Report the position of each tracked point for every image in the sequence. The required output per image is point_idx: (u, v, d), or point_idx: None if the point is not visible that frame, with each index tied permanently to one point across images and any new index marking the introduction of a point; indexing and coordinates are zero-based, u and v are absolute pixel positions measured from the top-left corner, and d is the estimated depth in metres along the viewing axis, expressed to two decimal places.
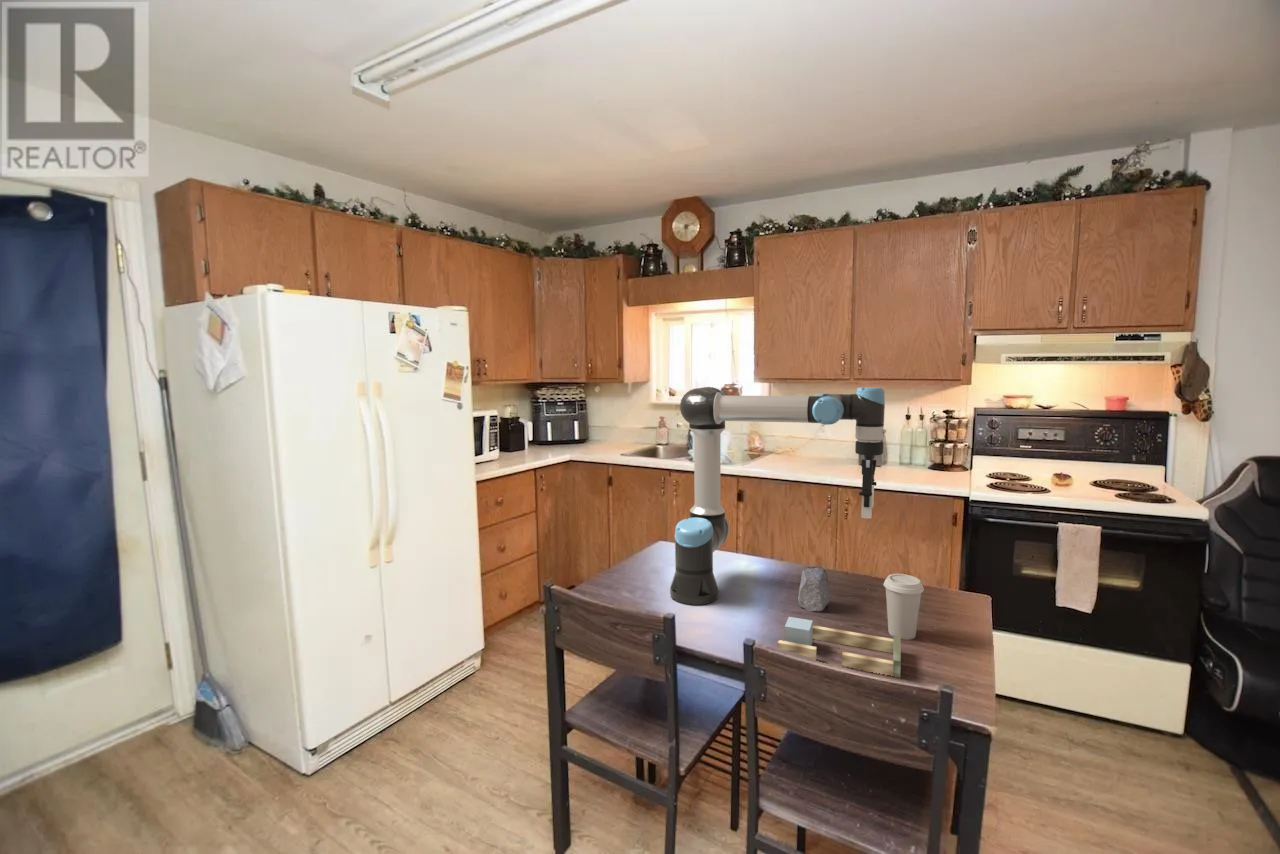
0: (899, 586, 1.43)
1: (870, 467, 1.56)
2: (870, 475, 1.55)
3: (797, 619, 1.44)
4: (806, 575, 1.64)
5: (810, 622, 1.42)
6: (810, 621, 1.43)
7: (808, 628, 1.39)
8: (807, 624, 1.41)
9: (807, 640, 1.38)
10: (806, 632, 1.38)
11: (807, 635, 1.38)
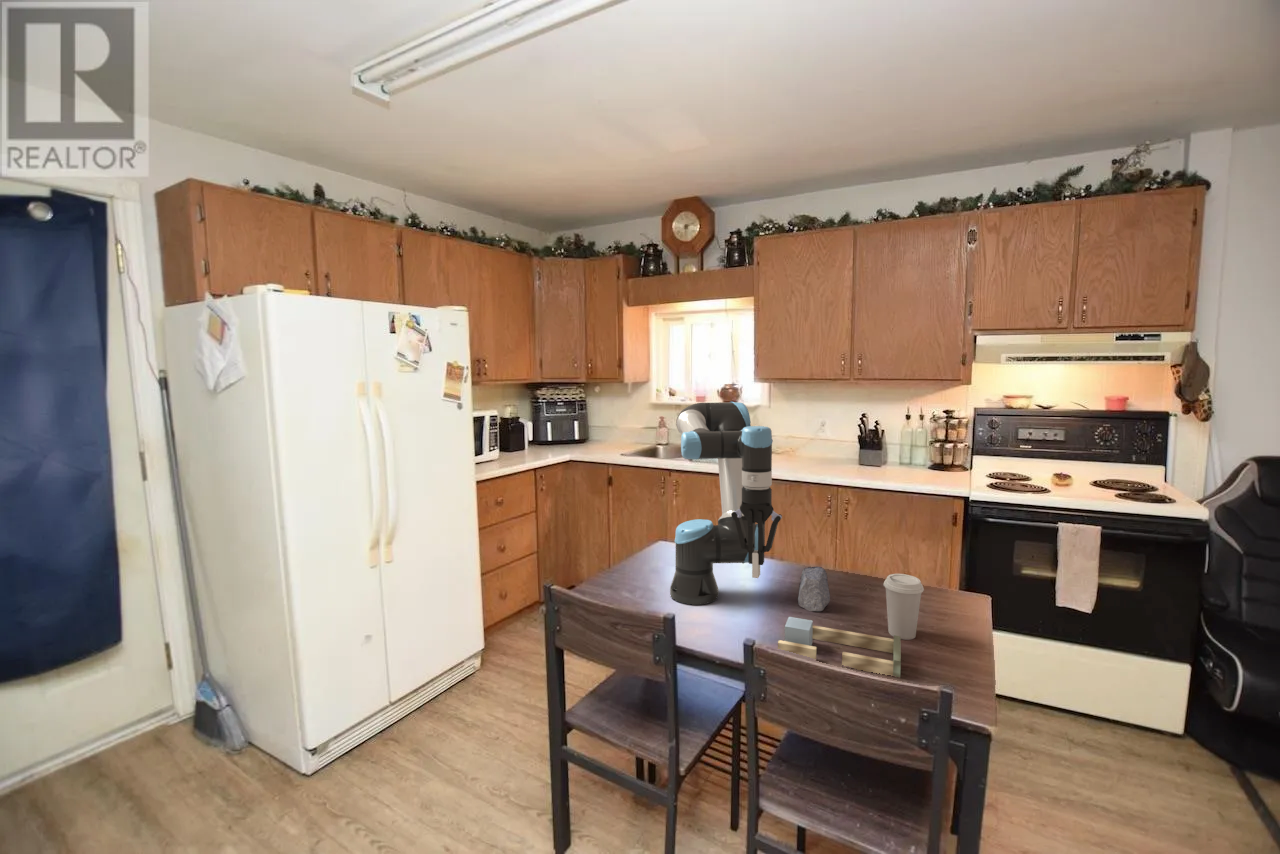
0: (899, 586, 1.43)
1: None
2: None
3: (797, 619, 1.44)
4: (806, 575, 1.64)
5: (810, 622, 1.42)
6: (810, 621, 1.43)
7: (808, 628, 1.39)
8: (807, 624, 1.41)
9: (807, 640, 1.38)
10: (806, 632, 1.38)
11: (807, 635, 1.38)
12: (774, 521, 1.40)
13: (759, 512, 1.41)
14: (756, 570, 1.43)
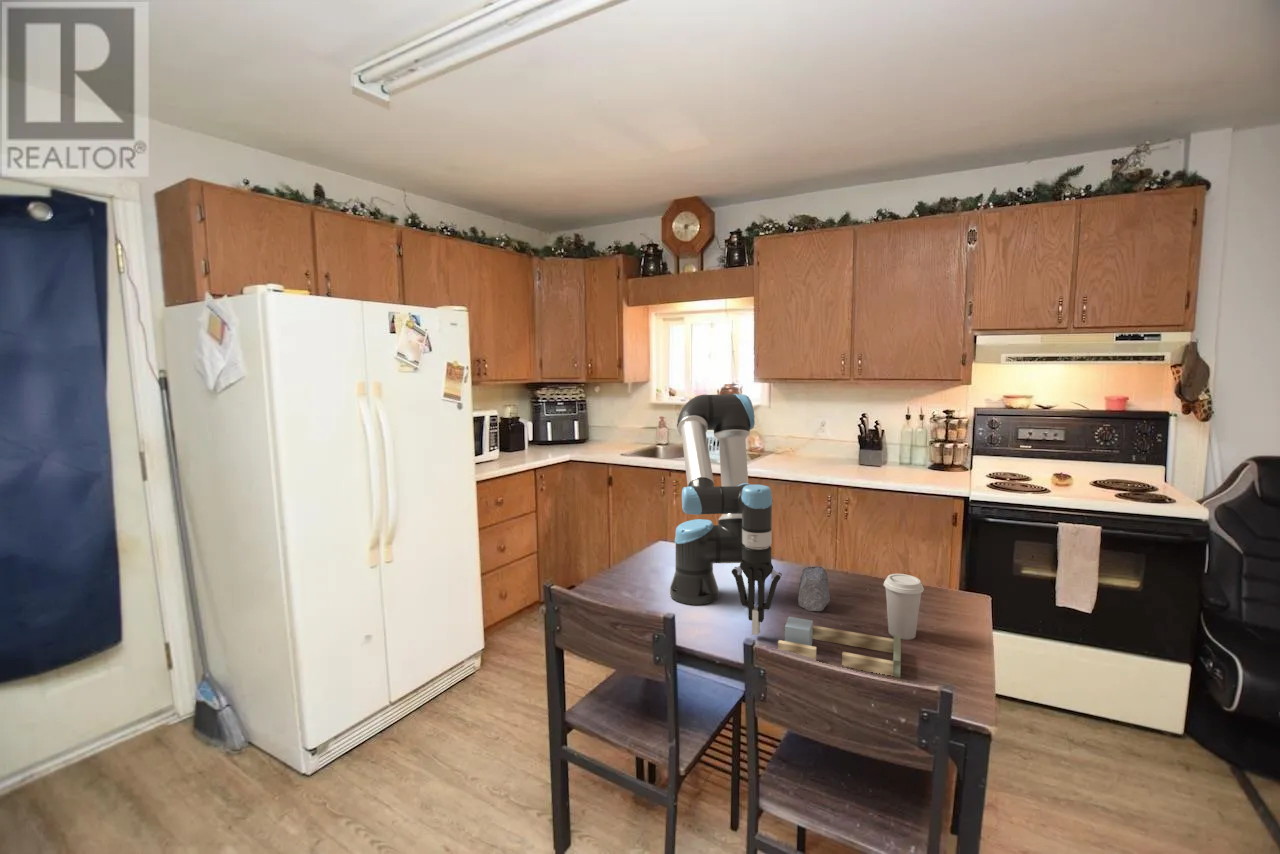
0: (899, 586, 1.43)
1: None
2: None
3: (797, 619, 1.44)
4: (806, 575, 1.64)
5: (810, 622, 1.42)
6: (810, 621, 1.43)
7: (808, 628, 1.39)
8: (807, 624, 1.41)
9: (807, 640, 1.38)
10: (806, 632, 1.38)
11: (807, 635, 1.38)
12: (774, 580, 1.42)
13: (759, 571, 1.43)
14: (756, 627, 1.45)
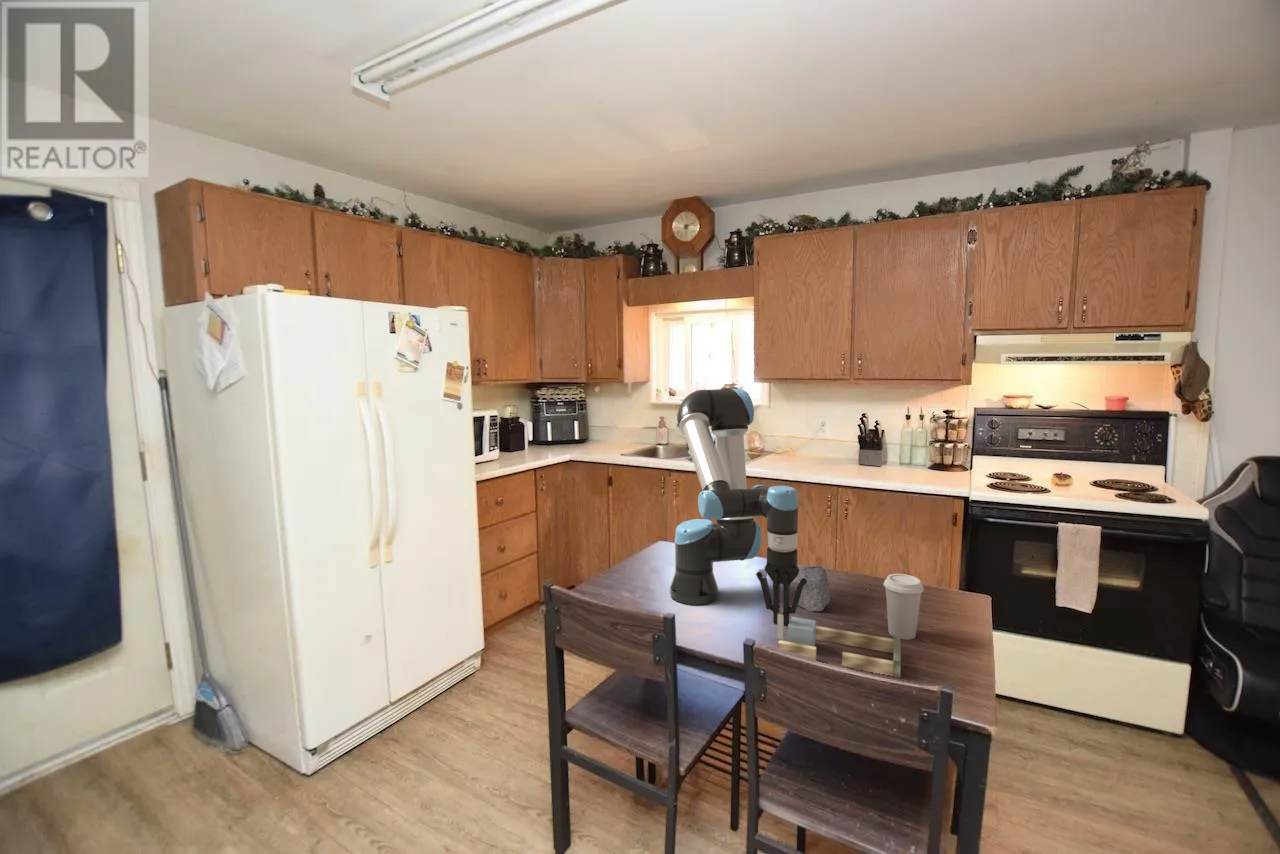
0: (899, 586, 1.43)
1: None
2: None
3: (801, 619, 1.44)
4: (806, 575, 1.64)
5: (813, 622, 1.42)
6: (813, 621, 1.42)
7: (811, 628, 1.38)
8: (810, 624, 1.41)
9: (810, 640, 1.38)
10: (809, 632, 1.38)
11: (810, 635, 1.38)
12: (800, 583, 1.39)
13: (785, 574, 1.40)
14: (781, 631, 1.42)
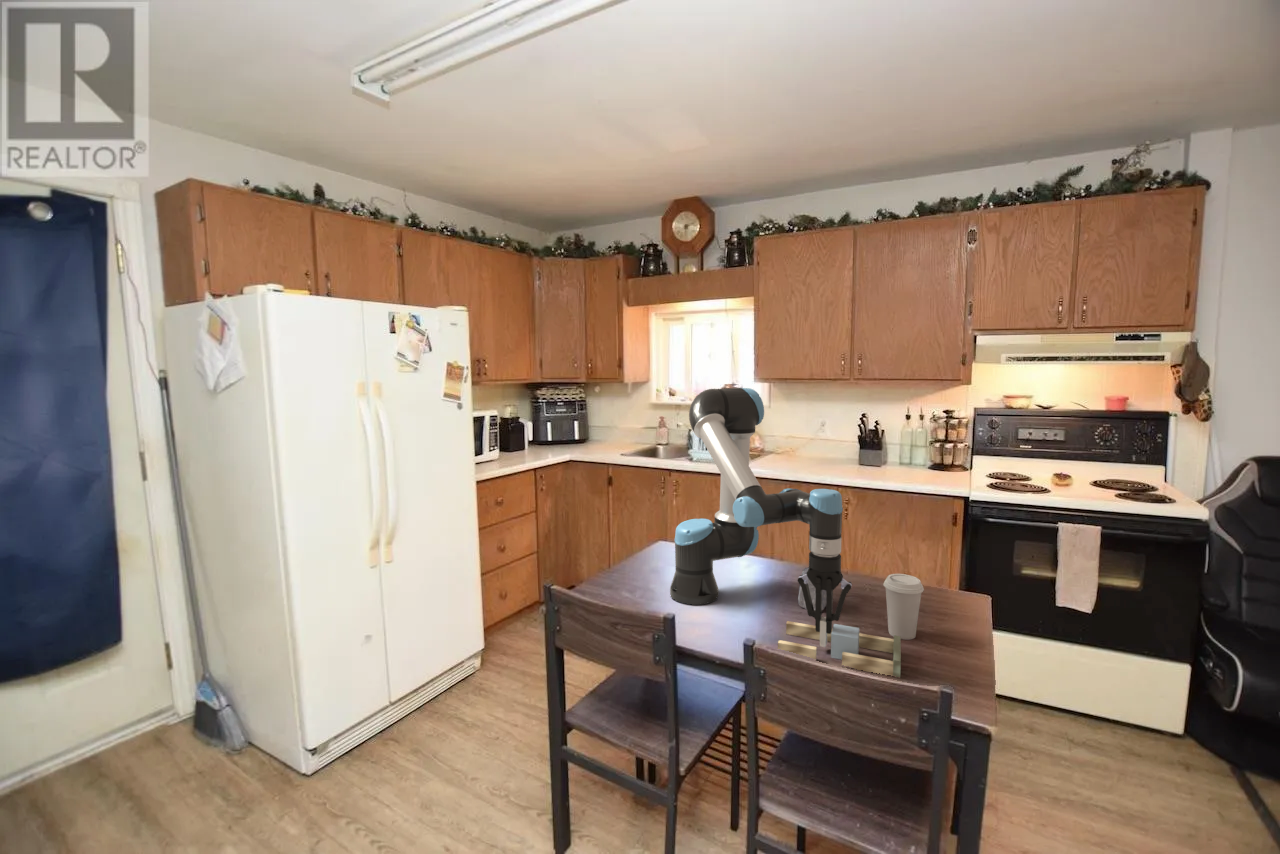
0: (899, 586, 1.43)
1: None
2: None
3: (843, 626, 1.39)
4: None
5: (857, 630, 1.37)
6: (857, 628, 1.38)
7: (856, 636, 1.34)
8: (854, 631, 1.36)
9: (855, 648, 1.33)
10: (854, 640, 1.33)
11: (855, 643, 1.33)
12: (844, 589, 1.35)
13: (828, 580, 1.35)
14: (824, 639, 1.38)
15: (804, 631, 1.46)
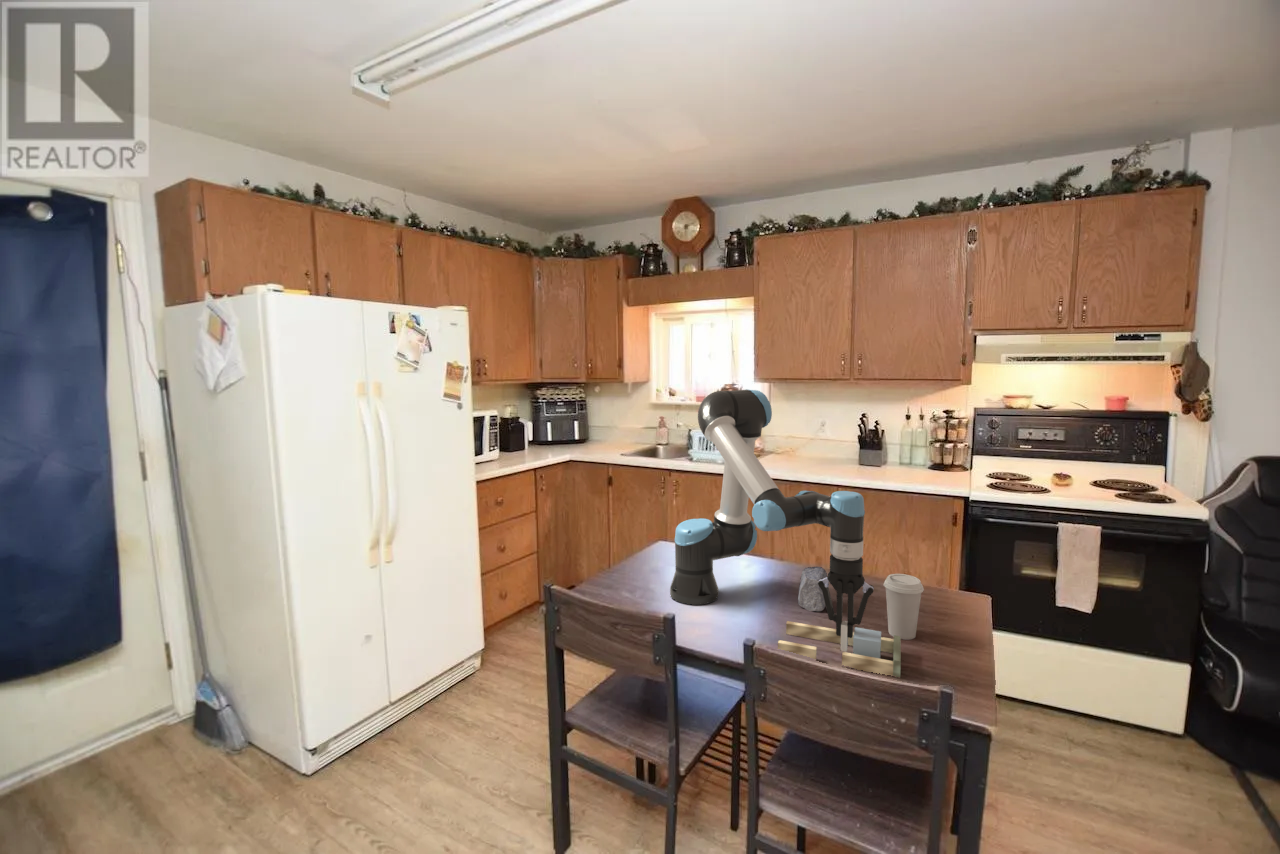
0: (899, 586, 1.43)
1: None
2: None
3: (865, 630, 1.37)
4: (806, 575, 1.64)
5: (879, 633, 1.35)
6: (879, 632, 1.36)
7: (879, 640, 1.32)
8: (876, 635, 1.34)
9: (878, 652, 1.31)
10: (877, 644, 1.31)
11: (878, 647, 1.31)
12: (866, 593, 1.33)
13: (850, 583, 1.34)
14: (845, 643, 1.36)
15: (804, 631, 1.46)
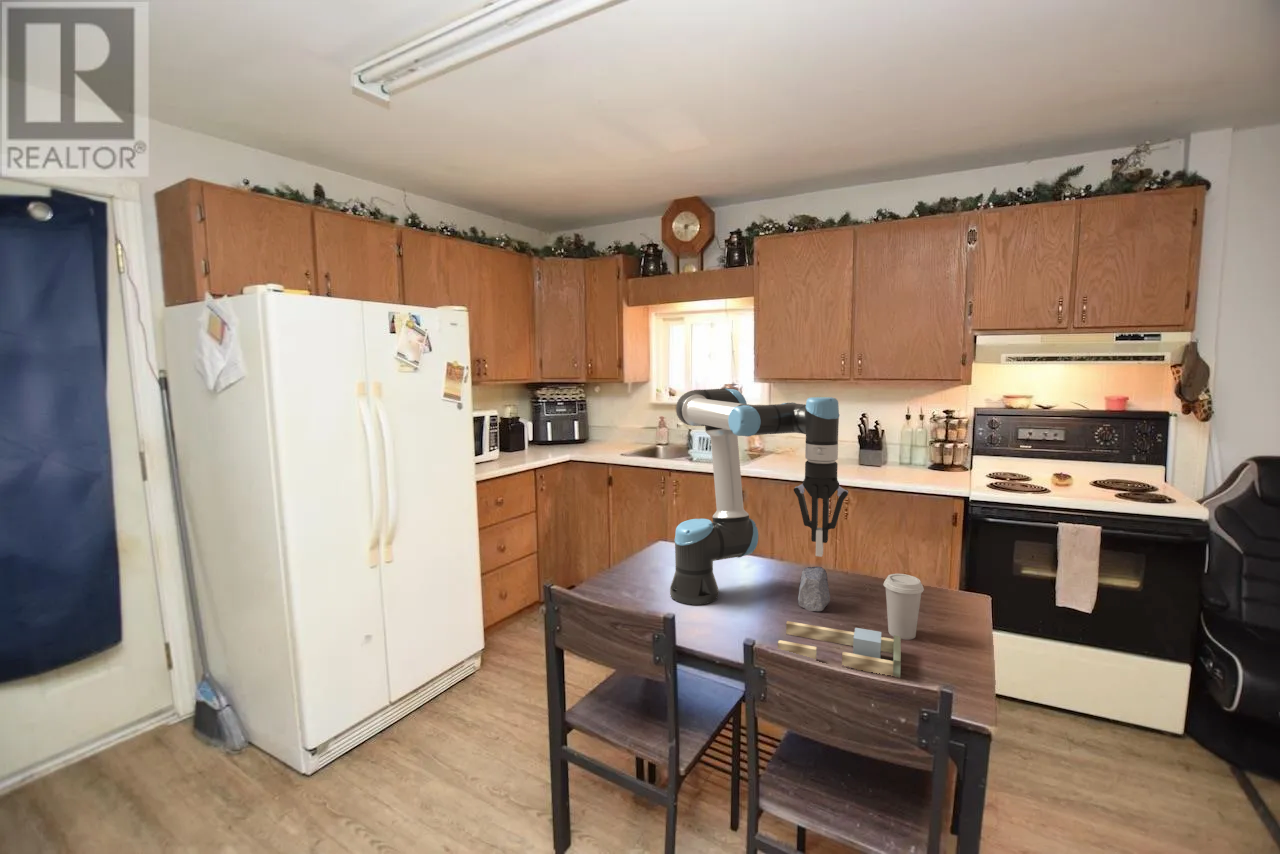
0: (899, 586, 1.43)
1: None
2: None
3: (865, 630, 1.37)
4: (806, 575, 1.64)
5: (879, 634, 1.35)
6: (879, 632, 1.36)
7: (879, 640, 1.32)
8: (876, 636, 1.34)
9: (878, 653, 1.31)
10: (877, 644, 1.31)
11: (878, 648, 1.31)
12: (841, 496, 1.34)
13: (825, 487, 1.34)
14: (820, 548, 1.37)
15: (804, 631, 1.46)
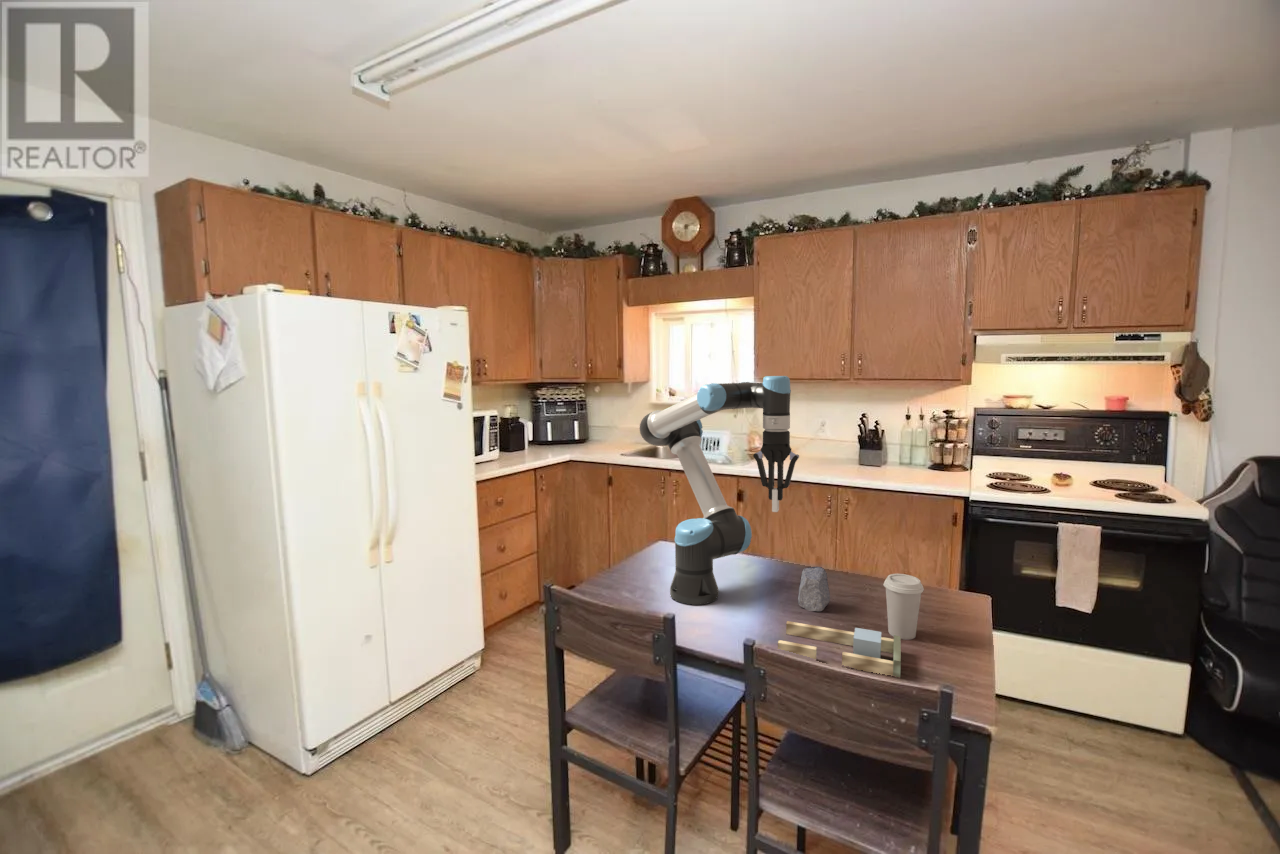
0: (899, 586, 1.43)
1: None
2: None
3: (865, 630, 1.37)
4: (806, 575, 1.64)
5: (879, 634, 1.35)
6: (879, 632, 1.36)
7: (879, 641, 1.32)
8: (877, 636, 1.34)
9: (878, 653, 1.31)
10: (877, 644, 1.31)
11: (878, 648, 1.31)
12: (792, 460, 1.57)
13: (779, 452, 1.58)
14: (775, 505, 1.60)
15: (804, 631, 1.46)
